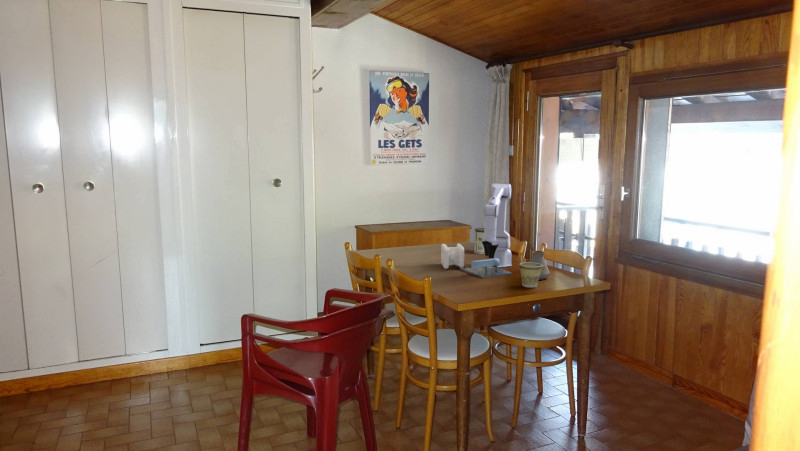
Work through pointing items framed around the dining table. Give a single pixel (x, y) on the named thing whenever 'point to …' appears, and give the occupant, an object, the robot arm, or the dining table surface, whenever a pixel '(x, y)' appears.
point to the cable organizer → (452, 256)
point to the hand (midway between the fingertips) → (489, 257)
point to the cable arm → (485, 263)
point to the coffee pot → (539, 261)
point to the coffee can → (479, 241)
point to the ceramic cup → (530, 273)
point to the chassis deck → (487, 275)
